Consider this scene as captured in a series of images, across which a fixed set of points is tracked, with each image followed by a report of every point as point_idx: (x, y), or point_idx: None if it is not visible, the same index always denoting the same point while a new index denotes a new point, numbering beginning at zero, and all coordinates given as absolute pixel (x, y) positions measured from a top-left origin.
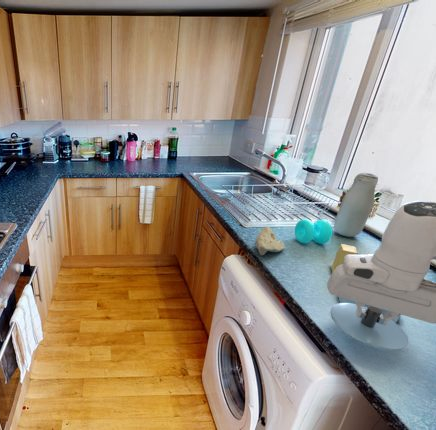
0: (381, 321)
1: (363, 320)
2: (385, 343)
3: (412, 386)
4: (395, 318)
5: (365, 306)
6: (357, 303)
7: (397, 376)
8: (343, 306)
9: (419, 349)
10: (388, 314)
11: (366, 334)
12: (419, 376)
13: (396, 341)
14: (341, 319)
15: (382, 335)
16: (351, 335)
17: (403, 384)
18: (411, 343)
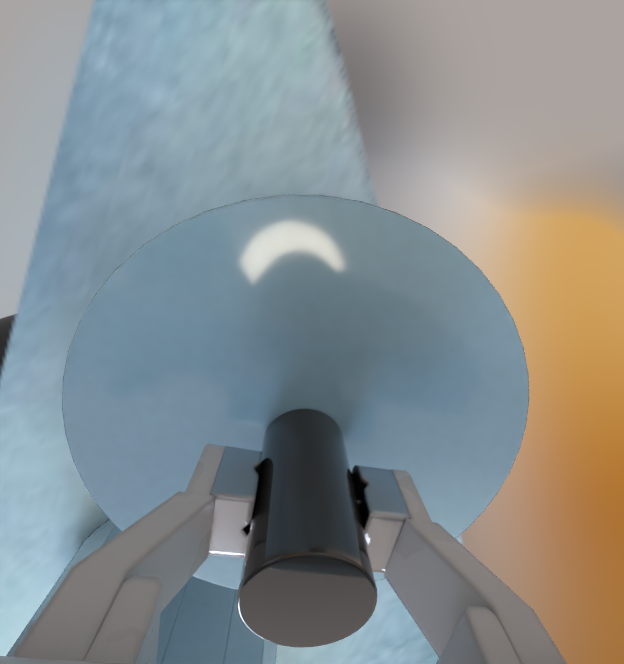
0: (239, 468)
1: (346, 453)
2: (255, 261)
3: (137, 152)
4: (85, 556)
5: (212, 588)
6: (556, 649)
7: (187, 200)
8: None
9: (37, 414)
10: (167, 576)
11: (364, 320)
12: (84, 238)
13: (158, 316)
14: (473, 426)
15: (243, 350)
16: (480, 276)
17: (177, 151)
18: (60, 438)
